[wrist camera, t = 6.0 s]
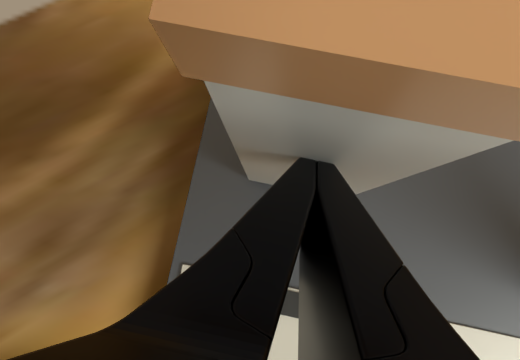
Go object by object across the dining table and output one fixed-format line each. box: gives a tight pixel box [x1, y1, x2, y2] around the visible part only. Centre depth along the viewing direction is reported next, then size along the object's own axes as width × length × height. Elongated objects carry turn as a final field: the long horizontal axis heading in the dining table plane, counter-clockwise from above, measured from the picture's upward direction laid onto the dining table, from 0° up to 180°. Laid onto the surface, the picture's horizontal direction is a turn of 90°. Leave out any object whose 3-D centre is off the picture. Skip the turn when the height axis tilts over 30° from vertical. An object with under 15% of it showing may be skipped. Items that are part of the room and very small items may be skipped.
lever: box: [148, 0, 520, 194], centre depth 9 cm, size 2×4×12 cm, turn 78°
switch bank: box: [167, 98, 520, 360], centre depth 16 cm, size 14×22×2 cm, turn 78°
